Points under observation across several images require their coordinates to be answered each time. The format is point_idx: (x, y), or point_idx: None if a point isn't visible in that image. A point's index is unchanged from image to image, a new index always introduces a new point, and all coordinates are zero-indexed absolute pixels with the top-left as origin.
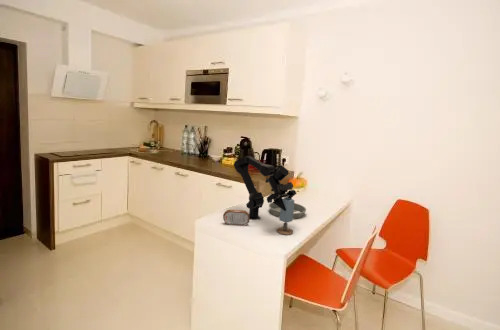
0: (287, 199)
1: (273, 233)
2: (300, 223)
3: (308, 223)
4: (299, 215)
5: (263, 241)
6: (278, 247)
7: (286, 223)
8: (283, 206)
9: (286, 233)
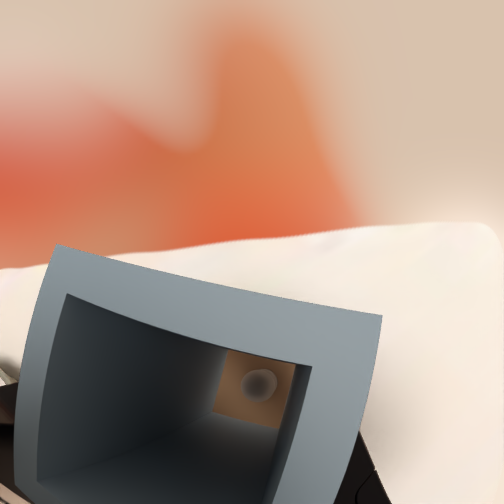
0: (64, 475)
1: None
2: None
3: None
4: (12, 381)
5: (483, 371)
6: (477, 272)
7: (261, 375)
8: (358, 434)
9: None
